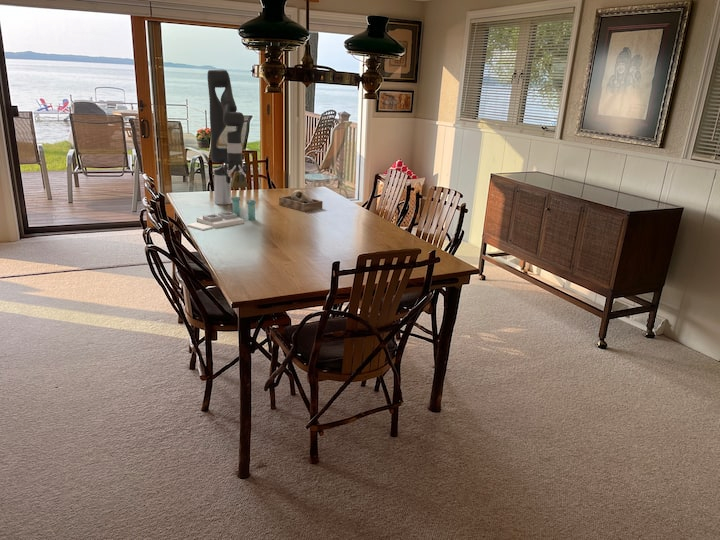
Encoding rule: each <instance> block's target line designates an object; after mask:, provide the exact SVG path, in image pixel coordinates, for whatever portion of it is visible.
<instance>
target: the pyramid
mask: <svg viewBox="0 0 720 540" xmlns="http://www.w3.org/2000/svg"><path fill="white" fill-rule="evenodd" d="M240 175H241V174H240V173H239V171H235V172H234V173H233V176H232V179H231V188H238V189H243V188H244V189H245V188H249V183H248V182H247V181H248V180H247V179H246V176H245V175H244V182H241V181H240Z"/></svg>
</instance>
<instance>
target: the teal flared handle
mask: <svg viewBox="0 0 720 540" xmlns="http://www.w3.org/2000/svg"><path fill="white" fill-rule="evenodd" d="M240 201H241V197H239V196H231V202H232V213H235V214H237V217H238V218H239V217H240V215H241V214H240V213H241V212H240V211H241V210H240V209H241V208H240V207H241V206H240Z"/></svg>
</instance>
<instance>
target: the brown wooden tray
mask: <svg viewBox="0 0 720 540" xmlns="http://www.w3.org/2000/svg"><path fill="white" fill-rule="evenodd" d="M311 199H312V200H313V202H312V203H306V204H305V203H301V202H297V201H293V200H292V199H291V195H287V196H281V197H278V200H279V201H278V203H279V206H282V207H283V206H284V207H286V208H289V207H290V209H294V210H296V209H297V211H301V212H305V213H306V212H310V211H311V212H312V211H317V210H323V200H319V199H315V198H311Z"/></svg>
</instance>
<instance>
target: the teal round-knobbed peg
mask: <svg viewBox="0 0 720 540" xmlns="http://www.w3.org/2000/svg"><path fill="white" fill-rule="evenodd" d="M246 204H247V216H248V217H247V220H248V221H255V220H256V204H257V200H255V199H248V200H246Z"/></svg>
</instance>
